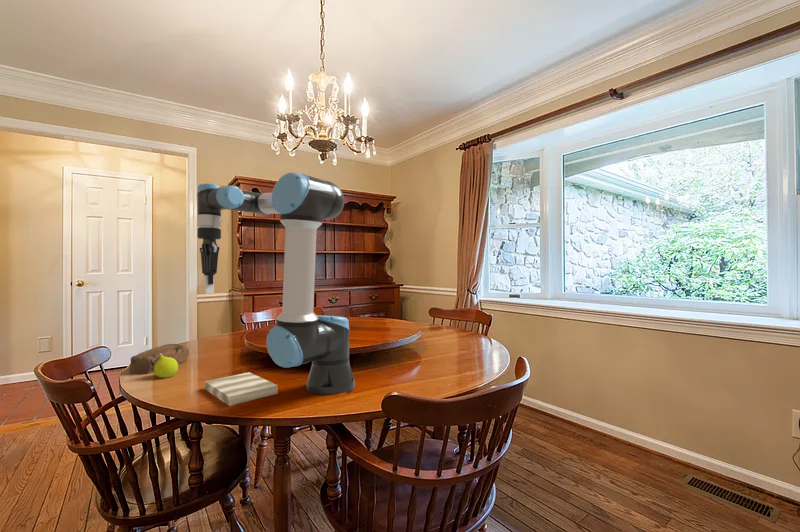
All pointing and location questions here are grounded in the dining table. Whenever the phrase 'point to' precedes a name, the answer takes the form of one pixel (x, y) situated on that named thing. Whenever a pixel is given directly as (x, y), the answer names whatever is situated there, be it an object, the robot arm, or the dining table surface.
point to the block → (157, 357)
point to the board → (240, 388)
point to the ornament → (165, 367)
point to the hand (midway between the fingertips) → (209, 293)
